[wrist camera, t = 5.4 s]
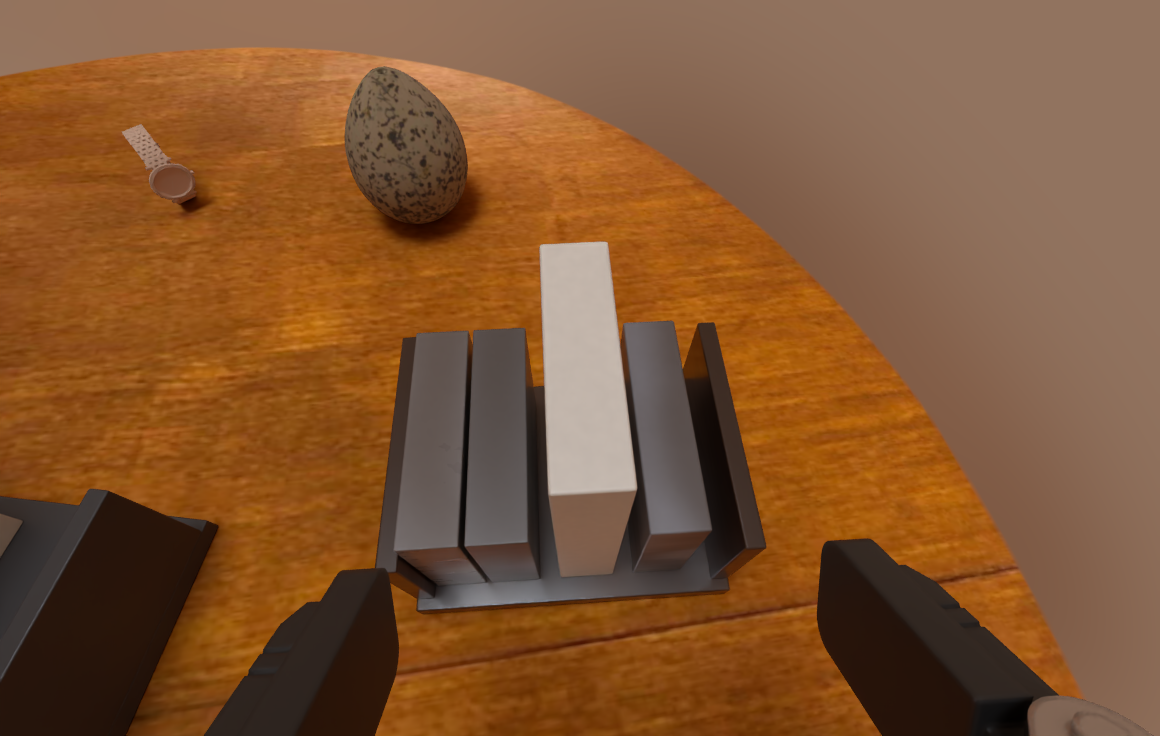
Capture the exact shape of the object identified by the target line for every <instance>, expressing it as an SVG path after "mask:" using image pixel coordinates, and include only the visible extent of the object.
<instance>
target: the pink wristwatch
mask: <svg viewBox="0 0 1160 736" xmlns="http://www.w3.org/2000/svg"><path fill="white" fill-rule="evenodd" d="M122 133H123V135H124V136H125V137H126V139H127V140H128V141H129V143H130V144H131V145H132V147H133V148H134V149H135V151H136V152H137V153H138V155H139V156H140V157H141V158H142V160H143V161H144V160H145V161H144V163H145V164H146V166H147V167H146V168H145V169H146V170H151V169H152V170H153V171H152V172H151V174H150V177H149V183H150V186H151V188H152V190H153V191H154V192H155V193H156V194H157V195H159V196H160V197H162V198H166V199H169V200H173V201H172V202H173V203H175V202H176V203H178V204H181V203H182V202H185V201H187V200H189V199H191V198H193V197H196V196H195V193H197V192H196V191H193V190H194V188H195V178H194V176H193V174H194V172H193V171H189V170H188V169H187V168H185V167H184V166H182V165H179V164H171V163H170V160H171V158H170V157H169V158H168V157H167V156H166V155H165V154H164V153H163V152H162V151H161V149H160V148H159V147H160V146H159V145H158V143H155V142H154V140H153V139H152V138H151V136H150V135H149V134H148V132H147V131H146V130H145V128H144V127H143V126H142V125H141V124H140V125H138V126H135V127H132V128H130V129H128V130H125V131H123V132H122Z"/></svg>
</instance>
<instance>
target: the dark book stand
mask: <svg viewBox="0 0 1160 736" xmlns="http://www.w3.org/2000/svg"><path fill="white" fill-rule="evenodd" d="M217 528H218V525H216V524H213V523H211V522H209V521H207V520H199V519H190V518H181V517H173V516H166V515H164V514H161V513H159V512H157V511H154V510H152V509H150V508H147V507H145V506H143V505H140V504H138V503H136V502H133V501H131V500H129V499H126V498H124V497H122V496H119V495H117V494H115V493H112V492H110V491H107V490H98V489H89V490H88V491H87V493H86V495H85V497H84V498H83V500H82V502H81V503H80V505H79V506H78V505H70V504H61V503H53V502H44V501H36V500H27V499H18V498H10V497H1V496H0V736H125V734H126V732H127V730H128V727H129V725H130V723H131V721H132V719H133V716H134V714H135V712H136V710H137V707H138V705H139V703H140V701H141V698H142V696H143V694H144V692H145V689H146V687H147V685H148V683H149V680H150V678H151V676H152V674H153V671H154V669H155V667H156V665H157V663H158V660H159V658H160V656H161V654H162V651H163V649H164V647H165V645H166V642H167V640H168V638H169V636H170V633H171V631H172V629H173V627H174V624H175V622H176V620H177V618H178V615H179V613H180V611H181V609H182V607H183V604H184V602H185V600H186V598H187V595H188V593H189V591H190V589H191V586H192V584H193V582H194V580H195V577H196V575H197V573H198V571H199V568H200V566H201V564H202V562H203V559H204V557H205V555H206V553H207V551H208V548H209V546H210V544H211V542H212V539H213V537H214V535H215V533H216V530H217Z"/></svg>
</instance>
